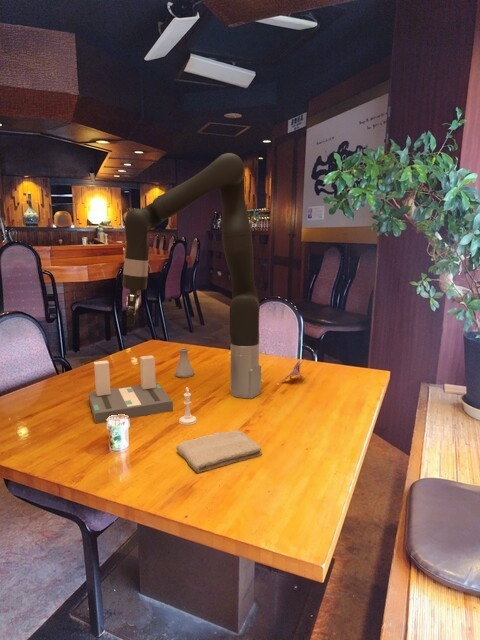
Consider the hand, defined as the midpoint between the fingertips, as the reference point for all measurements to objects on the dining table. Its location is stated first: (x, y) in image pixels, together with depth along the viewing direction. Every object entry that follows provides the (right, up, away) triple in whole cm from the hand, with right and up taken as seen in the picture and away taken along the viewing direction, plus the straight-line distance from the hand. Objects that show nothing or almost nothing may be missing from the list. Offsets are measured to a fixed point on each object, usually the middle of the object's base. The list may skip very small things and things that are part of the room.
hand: (131, 323), depth 140 cm
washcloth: (+30, -32, -36) cm, 57 cm away
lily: (+55, -21, +15) cm, 61 cm away
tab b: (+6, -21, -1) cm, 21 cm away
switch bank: (+1, -25, -8) cm, 26 cm away
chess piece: (+20, -28, -18) cm, 39 cm away
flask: (+14, -20, +22) cm, 33 cm away
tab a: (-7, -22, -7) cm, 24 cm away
